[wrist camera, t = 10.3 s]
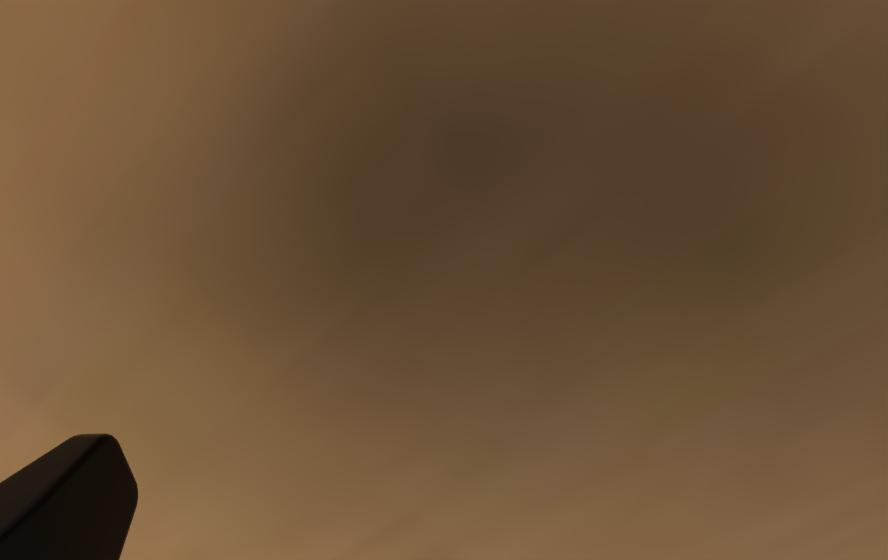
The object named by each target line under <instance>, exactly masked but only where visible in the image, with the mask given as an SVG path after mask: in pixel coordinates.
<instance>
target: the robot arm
mask: <svg viewBox="0 0 888 560" xmlns="http://www.w3.org/2000/svg"><path fill="white" fill-rule="evenodd" d="M137 501H138V488H137V483H136V481H135V478H134V476H133V474H132V472H131V469H130V467H129V465H128V462H127V460H126V458H125V456H124V453H123V451H122V449H121V447H120V444H119V442H118V441H117V439H115V438H114V437H113V436H112V435H109V434H81V435H76V436H73V437H71V438H69V439H68V440H66V441H65V442H63V443H62V444H60V445H58V446H57V447H55V448H54V449H52V450H51V451H49V452H48V453H46V454H44V455H43V456H41V457H40V458H38V459H37V460H35V461H34V462H32V463H30V464H29V465H27V466H26V467H24V468H23V469H21V470H20V471H18V472H16V473H15V474H13V475H12V476H10V477H9V478H7V479H6V480H4V481H2V482H1V483H0V560H119V558H120V555H121V552H122V549H123V546H124V543H125V540H126V537H127V534H128V531H129V528H130V525H131V522H132V519H133V516H134V512H135V509H136V506H137Z"/></svg>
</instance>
